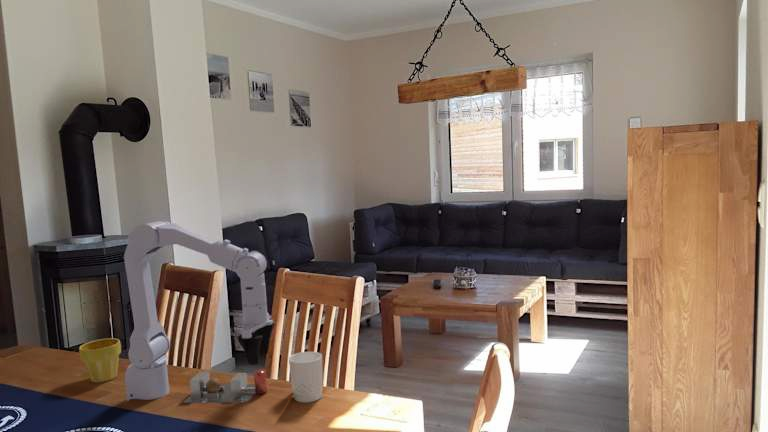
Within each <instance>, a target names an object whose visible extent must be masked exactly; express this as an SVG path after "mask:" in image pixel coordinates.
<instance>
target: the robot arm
mask: <svg viewBox="0 0 768 432" xmlns="http://www.w3.org/2000/svg"><path fill="white" fill-rule="evenodd" d="M127 236H128V242H127V246H126V247H125V251H124V253H123V254H124V255H123V260H124V266H125V272H126V273H125V274H126V279H127V285H128V292H129V293H128V294H129V298H130V299H129V300H130V306H131V312H132V318H133V325H134V329H133V331H132V333H131V336H130V337H129V344H130V345H129V350H128V353H127V354H128V359H129V361H130V364H129V365H128V366H127V368H126V370H125V373H124V383H125V395H126V402H129V401H131V400H143V401H144V400H148V401H149V400H156V399H160V398H163V397H165V396H167V395H168V394H169V393H170V384H169V383H170V382H169V374H168V373H169V371H168V363H167V353H168V352H169V350H170V348H171V342H170V338H169V337H168V336H167V334H166V331H165V327H164V326H163V325H162V323H159V320H158V319H159V318H158V313H157V312H158V311H157V306H156V300H155V299H156V297H155V292H154V287H153V278H152V273H151V272H152V271H151V266H150V260H151V259H152V257H153V256H154V255H155V254H156V253H157V252H158V251H160V249H162V248H163V247H166V246H174V245H178V246H180V247H184V248H186V249H189V250H193V251H195V252H197V253H200V254H203V255H206V256H207V258H208V259H209V262H210V263H212V264H214V265H216V266H219V267H222V268H224V269H227V270H229V271H232V272H234V273H236V275H237V276H238V277H239V279H240V290H241V291H240V293H241V306H242V307H241V308H242V319H243V321H242V329H241V334H239V335H238V336H237V342H238V343H239V344H240V346H241V347H242V349H243V352H244V354H245V358H246V360H247V363H248V365H254V366H255V365H258V364H259V362H260V361H259V360H260V355H261V354H262V355H263V354H268V353H269V349H270V341H271V336H272V332H273V329H274V327H275V322H274V321H273V319H270V313H269V312H268V305H267V300H268V299H267V289H266V288H267V286H266V279H265V271H266V269H267V265H268V264H267V263H268V261H267V258H266V257H265V255H263V253H261V252H259V251H258V250H251V251H249V248H247V247H244V248H242V247H239V246H237V245H234V244H232V243H231V240H229V239H224V240H221V239H219V240H217V241H214V242H213V241H211V240H209V239H207V238H205V237H203V236H200V235H198V234H196V233H194V232H193V231H190V230H187V229H186V228H183V227H182V226H179V225H178V224H176V223H173V222H169V221H167V220H165V219H158V220H155V221H151V222H149V223H141V224H138V225H137V226H135V227H134V228H133V229H132V230H131V231H130V232H129V233H128V235H127Z"/></svg>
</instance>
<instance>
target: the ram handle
mask: <svg viewBox="0 0 768 432" xmlns="http://www.w3.org/2000/svg"><path fill="white" fill-rule="evenodd" d="M253 377H254V379H253V380H254V384H255V387H246V386H247V385H248V384H249V383H248V373H247V372H237V373H235V375H234V376H233V377H232V378H231V379H230V384H231V392H242V391H243V389H244V392H256V393H255V394H258V395H259V394H265V393H267V391H268V385H267V384H268V383H267V370H266V369H262V368H261V369H256V370H254V371H253Z"/></svg>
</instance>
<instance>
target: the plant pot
mask: <svg viewBox="0 0 768 432" xmlns="http://www.w3.org/2000/svg"><path fill="white" fill-rule="evenodd" d="M78 350H79V351H78V352H79V358H80V361H81V362H83V364H84V366H85V369H86V371H87V374H88V377H89V381H91V382H92V383H103V382H104V383H105V382H108V381H112V380H113V379H115V378H116V377H117V376H118V371H119V370H118V369H119V358H120V354H121V352H122V344H121V341H120V339H118V338H113V337H111V338H110V337H109V338H101V339H96V340H92V341H91V340H90V341H89V342H85V343H83V344H82V345H80V346H79V348H78Z"/></svg>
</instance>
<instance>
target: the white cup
mask: <svg viewBox="0 0 768 432" xmlns="http://www.w3.org/2000/svg"><path fill="white" fill-rule="evenodd" d="M288 363H289V372H290V380H291V387H292V390H293V391H292V393H293V398H294V401H296V402H299V403H304V404H305V403H313V402H316V401H318V400H320V399H321V398H322V397H323V355H322V353H321V352H317V351H302V352H297V353H294V354H292V355H290V356H289V357H288Z"/></svg>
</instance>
